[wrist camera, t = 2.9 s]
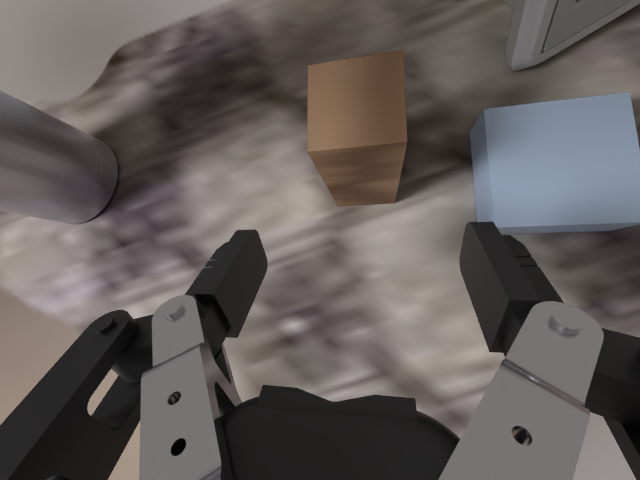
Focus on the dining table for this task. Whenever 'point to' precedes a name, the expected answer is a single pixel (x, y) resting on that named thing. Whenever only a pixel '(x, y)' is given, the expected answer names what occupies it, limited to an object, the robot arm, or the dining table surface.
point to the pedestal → (558, 165)
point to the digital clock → (554, 26)
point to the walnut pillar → (358, 126)
